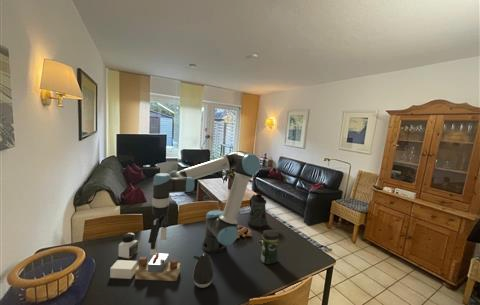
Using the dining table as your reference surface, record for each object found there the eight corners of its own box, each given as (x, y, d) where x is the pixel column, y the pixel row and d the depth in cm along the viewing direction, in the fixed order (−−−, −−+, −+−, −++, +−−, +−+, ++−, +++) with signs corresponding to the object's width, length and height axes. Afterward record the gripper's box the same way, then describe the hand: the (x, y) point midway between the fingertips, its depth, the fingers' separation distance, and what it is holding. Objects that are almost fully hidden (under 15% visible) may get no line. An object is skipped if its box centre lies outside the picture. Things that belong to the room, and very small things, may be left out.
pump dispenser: (193, 276, 106) (194, 248, 104) (213, 276, 107) (215, 248, 105) (190, 291, 96) (191, 260, 94) (212, 291, 97) (214, 261, 95)
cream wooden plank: (179, 272, 108) (180, 255, 107) (176, 280, 101) (177, 263, 100) (141, 270, 107) (141, 253, 106) (135, 279, 101) (135, 261, 100)
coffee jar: (272, 255, 128) (275, 227, 126) (278, 263, 121) (281, 233, 119) (258, 257, 126) (261, 228, 124) (263, 265, 118) (266, 234, 116)
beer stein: (261, 231, 158) (264, 200, 155) (240, 224, 168) (242, 194, 165) (270, 224, 172) (273, 195, 169) (250, 217, 182) (252, 190, 179)
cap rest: (137, 269, 107) (137, 260, 106) (131, 278, 101) (131, 269, 100) (117, 268, 107) (117, 259, 106) (110, 277, 100) (110, 268, 100)
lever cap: (168, 260, 108) (168, 251, 108) (162, 272, 99) (162, 262, 99) (155, 260, 108) (155, 250, 108) (147, 271, 99) (148, 261, 99)
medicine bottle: (129, 259, 115) (129, 238, 114) (118, 256, 117) (118, 236, 115) (137, 251, 122) (138, 232, 121) (127, 249, 124) (127, 230, 122)
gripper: (161, 196, 113) (159, 233, 115) (141, 215, 88) (139, 261, 90) (175, 197, 113) (173, 234, 115) (159, 216, 88) (156, 262, 90)
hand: (158, 246), depth 102 cm, fingers open, 13 cm apart
